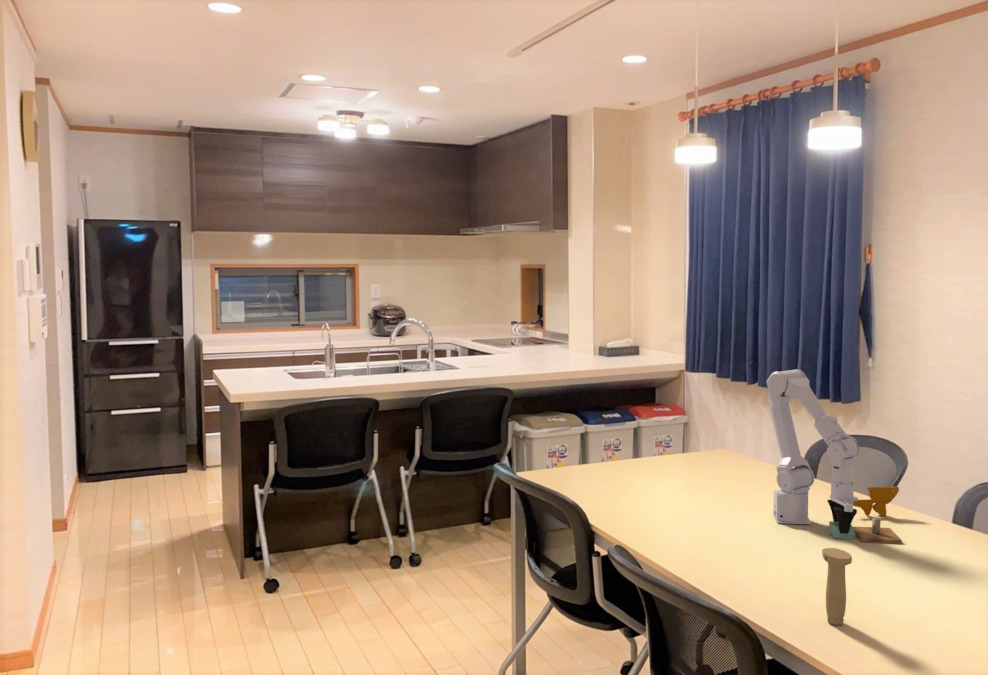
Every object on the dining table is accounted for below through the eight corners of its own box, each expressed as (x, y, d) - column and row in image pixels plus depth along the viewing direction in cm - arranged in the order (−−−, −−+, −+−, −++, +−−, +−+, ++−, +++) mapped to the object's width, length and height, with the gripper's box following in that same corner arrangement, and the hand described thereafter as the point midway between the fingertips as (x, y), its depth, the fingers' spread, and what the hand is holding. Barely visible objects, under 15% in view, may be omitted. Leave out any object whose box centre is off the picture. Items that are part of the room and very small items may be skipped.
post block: (861, 542, 216) (862, 523, 216) (851, 529, 226) (852, 512, 225) (901, 543, 214) (902, 525, 214) (889, 531, 224) (890, 513, 224)
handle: (834, 630, 165) (835, 559, 163) (815, 617, 171) (817, 549, 170) (855, 628, 165) (857, 557, 164) (836, 615, 172) (838, 547, 170)
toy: (909, 506, 236) (895, 476, 236) (859, 529, 237) (846, 499, 236) (904, 503, 239) (890, 474, 238) (856, 526, 240) (842, 497, 239)
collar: (833, 538, 219) (833, 527, 219) (829, 531, 225) (829, 521, 224) (853, 538, 219) (854, 528, 218) (848, 532, 224) (848, 522, 223)
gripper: (865, 489, 212) (864, 539, 214) (850, 474, 227) (849, 521, 228) (837, 488, 214) (836, 537, 215) (824, 474, 228) (823, 520, 229)
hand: (841, 529), depth 221 cm, fingers closed on collar, 5 cm apart
